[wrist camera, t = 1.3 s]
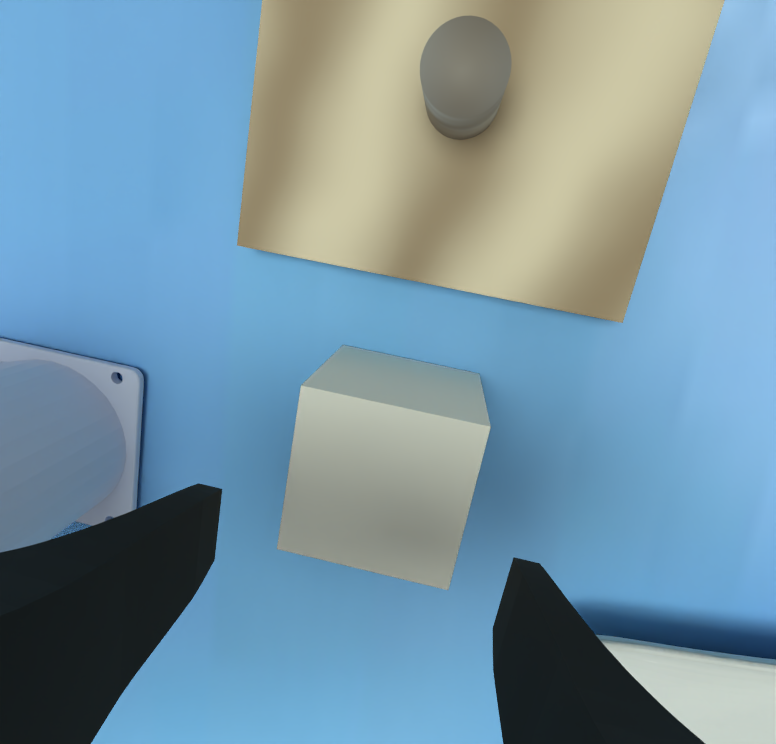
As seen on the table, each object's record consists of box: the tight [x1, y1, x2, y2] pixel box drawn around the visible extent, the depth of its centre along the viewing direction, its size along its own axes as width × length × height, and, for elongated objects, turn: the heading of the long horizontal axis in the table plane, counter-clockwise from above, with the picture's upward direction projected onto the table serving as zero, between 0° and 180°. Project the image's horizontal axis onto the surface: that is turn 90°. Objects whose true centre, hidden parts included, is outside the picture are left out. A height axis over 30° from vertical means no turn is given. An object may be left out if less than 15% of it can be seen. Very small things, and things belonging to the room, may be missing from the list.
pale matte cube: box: [277, 345, 491, 590], centre depth 18 cm, size 6×6×6 cm
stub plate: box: [237, 0, 724, 323], centre depth 16 cm, size 14×12×5 cm
